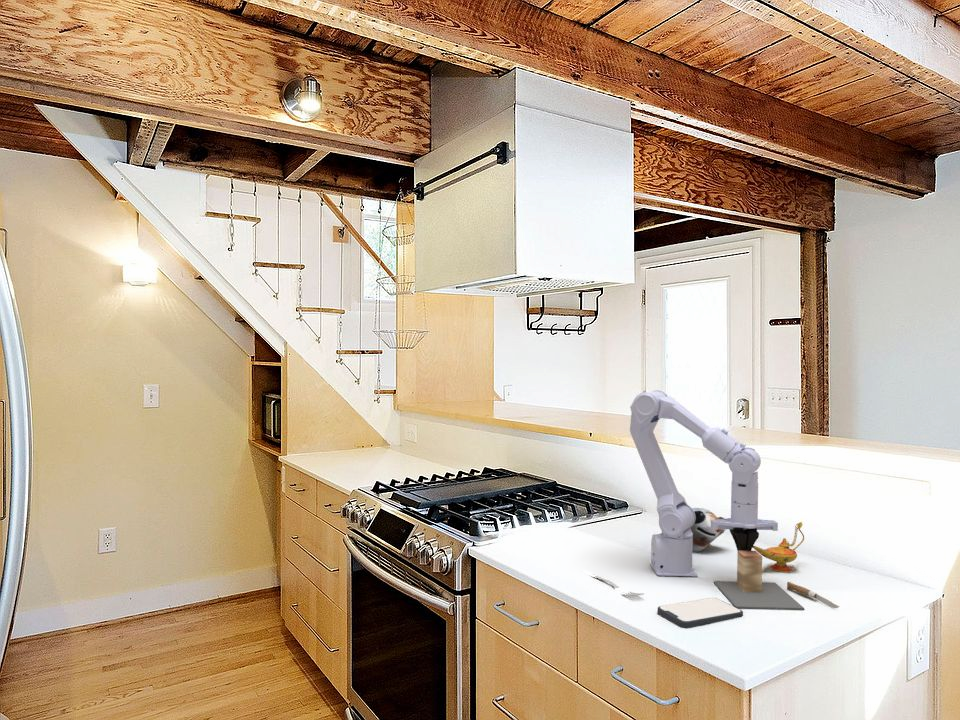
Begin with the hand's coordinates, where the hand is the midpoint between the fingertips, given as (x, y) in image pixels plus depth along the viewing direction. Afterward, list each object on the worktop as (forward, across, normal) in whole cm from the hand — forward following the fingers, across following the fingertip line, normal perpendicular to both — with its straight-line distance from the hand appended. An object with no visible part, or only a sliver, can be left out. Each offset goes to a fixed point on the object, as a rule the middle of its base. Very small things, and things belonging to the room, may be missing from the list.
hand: (743, 560), depth 153 cm
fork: (+6, -32, 0) cm, 32 cm away
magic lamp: (+6, +12, +11) cm, 17 cm away
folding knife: (+6, +12, -8) cm, 16 cm away
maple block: (+5, 0, -4) cm, 6 cm away
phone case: (+6, -15, -18) cm, 24 cm away
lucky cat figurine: (+6, -3, +28) cm, 29 cm away
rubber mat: (+5, 0, -7) cm, 9 cm away
